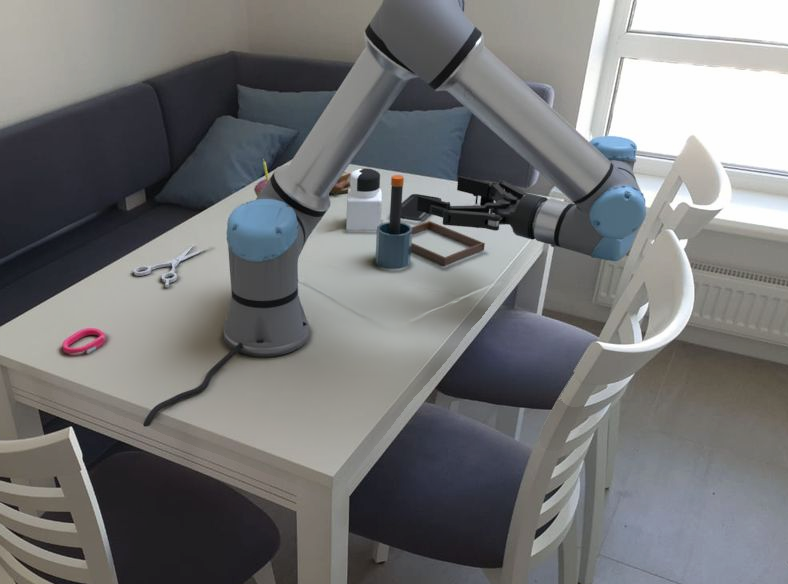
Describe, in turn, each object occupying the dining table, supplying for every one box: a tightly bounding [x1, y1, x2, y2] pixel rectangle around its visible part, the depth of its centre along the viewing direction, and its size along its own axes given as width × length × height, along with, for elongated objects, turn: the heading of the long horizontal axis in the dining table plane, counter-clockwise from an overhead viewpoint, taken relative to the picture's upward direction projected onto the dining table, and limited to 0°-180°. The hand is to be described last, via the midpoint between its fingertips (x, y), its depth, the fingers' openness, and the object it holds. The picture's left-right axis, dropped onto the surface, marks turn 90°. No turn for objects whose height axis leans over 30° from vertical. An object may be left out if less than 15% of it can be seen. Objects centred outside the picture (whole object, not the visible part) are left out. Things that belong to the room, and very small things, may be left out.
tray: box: [411, 220, 486, 267], centre depth 173 cm, size 12×16×2 cm
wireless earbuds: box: [472, 194, 495, 206], centre depth 192 cm, size 7×2×5 cm, turn 70°
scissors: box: [133, 244, 210, 288], centre depth 169 cm, size 11×1×20 cm
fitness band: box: [62, 327, 107, 355], centre depth 142 cm, size 8×6×2 cm
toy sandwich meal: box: [329, 171, 351, 194], centre depth 205 cm, size 12×14×5 cm
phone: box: [401, 193, 442, 223], centre depth 191 cm, size 8×1×15 cm
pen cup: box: [375, 221, 413, 269], centre depth 165 cm, size 7×7×8 cm
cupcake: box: [253, 158, 271, 198], centre depth 192 cm, size 9×8×12 cm
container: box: [345, 167, 383, 231], centre depth 181 cm, size 8×8×13 cm
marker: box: [389, 174, 405, 235], centre depth 162 cm, size 2×2×18 cm
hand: (438, 192), depth 152 cm, fingers open, 13 cm apart
